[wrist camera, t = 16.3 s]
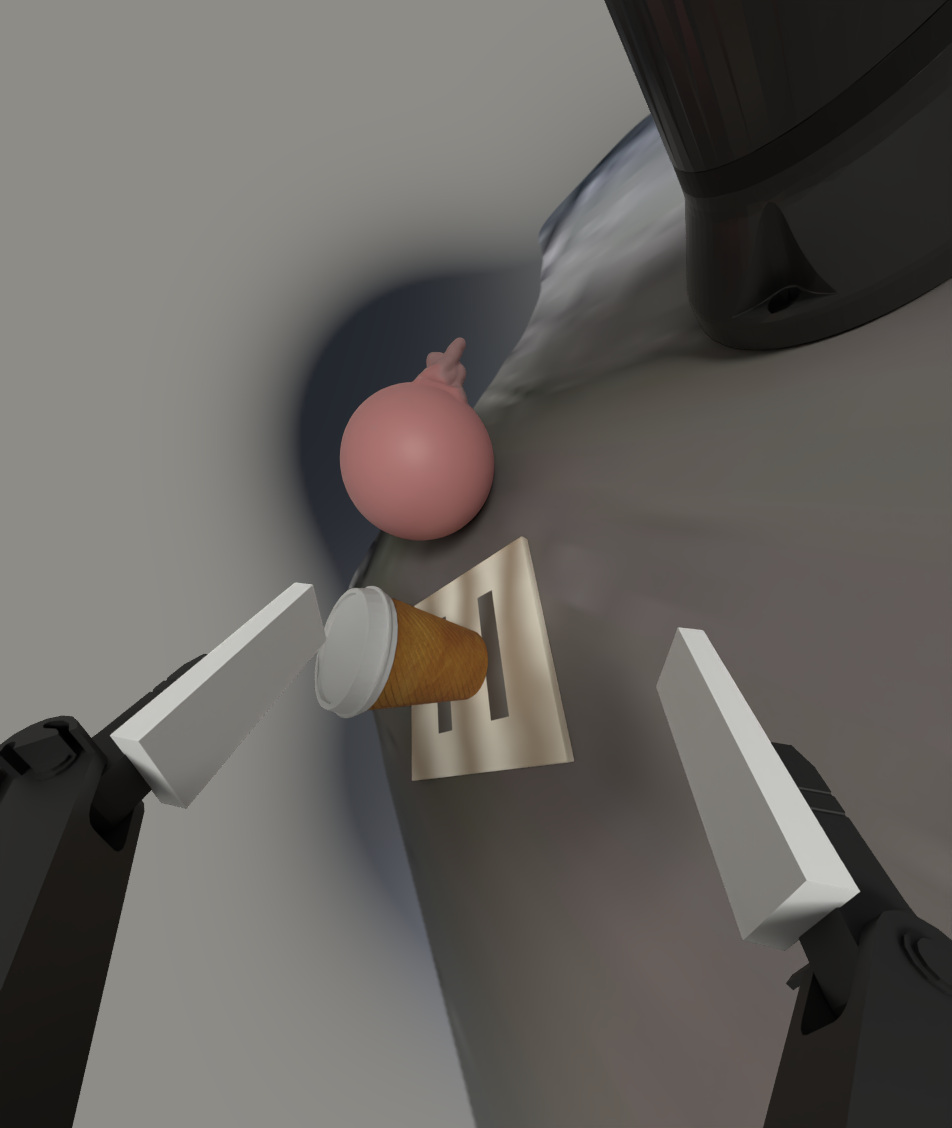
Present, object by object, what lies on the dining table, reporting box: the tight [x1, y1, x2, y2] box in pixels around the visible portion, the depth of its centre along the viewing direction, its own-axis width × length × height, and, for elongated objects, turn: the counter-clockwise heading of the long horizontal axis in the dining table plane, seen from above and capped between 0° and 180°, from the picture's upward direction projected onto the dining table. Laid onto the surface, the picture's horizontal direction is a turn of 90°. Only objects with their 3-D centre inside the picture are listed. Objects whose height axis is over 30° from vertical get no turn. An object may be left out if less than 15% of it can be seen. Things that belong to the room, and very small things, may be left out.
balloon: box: [340, 338, 494, 541], centre depth 36 cm, size 15×20×15 cm
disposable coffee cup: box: [315, 586, 488, 718], centre depth 29 cm, size 10×10×12 cm
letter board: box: [412, 536, 574, 781], centre depth 33 cm, size 18×18×1 cm
